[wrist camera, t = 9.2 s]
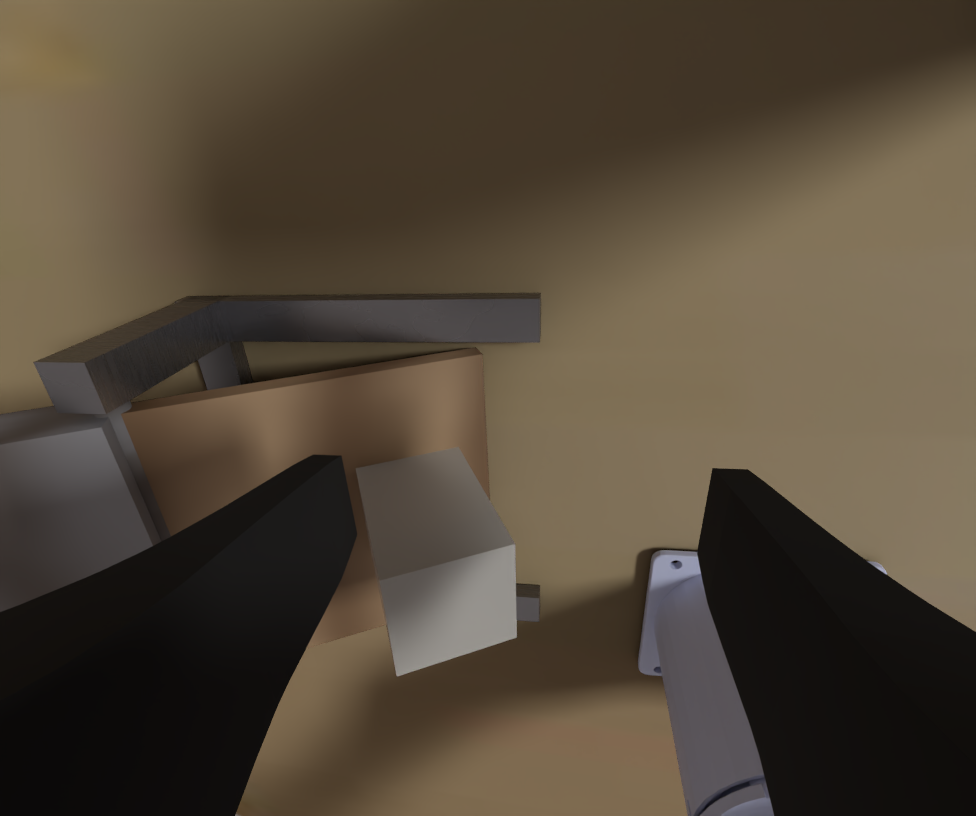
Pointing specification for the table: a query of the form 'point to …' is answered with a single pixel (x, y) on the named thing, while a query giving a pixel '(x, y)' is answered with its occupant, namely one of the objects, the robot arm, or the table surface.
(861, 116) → the table surface
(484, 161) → the table surface
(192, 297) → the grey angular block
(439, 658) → the light grey block
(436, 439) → the trapdoor
